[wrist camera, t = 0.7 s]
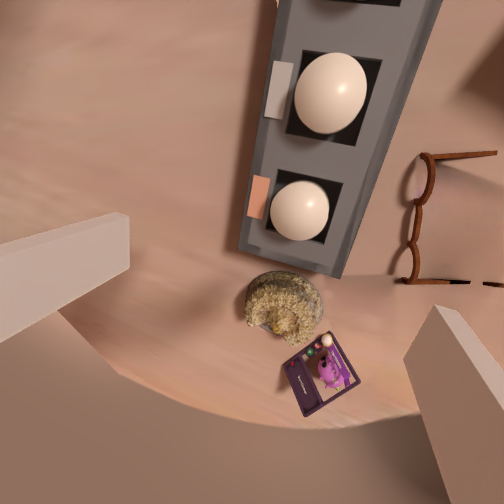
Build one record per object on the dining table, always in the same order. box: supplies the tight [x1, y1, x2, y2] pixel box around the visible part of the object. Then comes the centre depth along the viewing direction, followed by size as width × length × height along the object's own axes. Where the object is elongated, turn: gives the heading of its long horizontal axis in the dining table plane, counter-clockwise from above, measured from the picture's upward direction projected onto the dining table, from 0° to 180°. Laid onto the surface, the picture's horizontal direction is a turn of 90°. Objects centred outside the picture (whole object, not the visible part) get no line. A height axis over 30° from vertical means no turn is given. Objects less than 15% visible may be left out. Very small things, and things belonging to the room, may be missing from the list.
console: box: [237, 0, 443, 279], centre depth 23 cm, size 30×11×4 cm, turn 170°
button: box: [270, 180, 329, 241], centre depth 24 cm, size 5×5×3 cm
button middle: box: [295, 53, 367, 134], centre depth 20 cm, size 5×5×3 cm
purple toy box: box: [284, 331, 361, 417], centre depth 34 cm, size 7×5×9 cm
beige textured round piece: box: [244, 271, 323, 347], centre depth 31 cm, size 10×10×5 cm
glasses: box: [402, 151, 504, 288], centre depth 24 cm, size 13×13×5 cm
